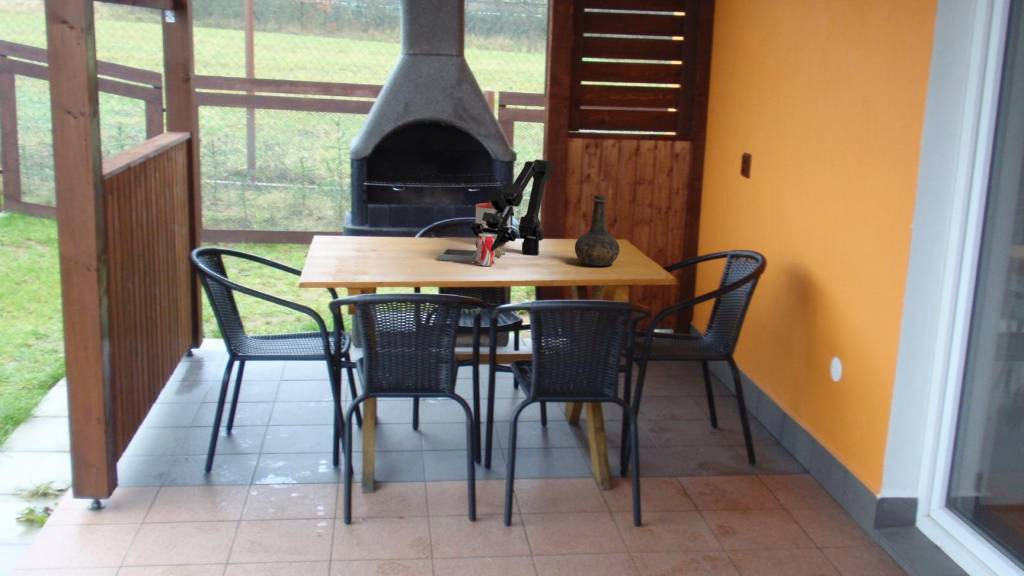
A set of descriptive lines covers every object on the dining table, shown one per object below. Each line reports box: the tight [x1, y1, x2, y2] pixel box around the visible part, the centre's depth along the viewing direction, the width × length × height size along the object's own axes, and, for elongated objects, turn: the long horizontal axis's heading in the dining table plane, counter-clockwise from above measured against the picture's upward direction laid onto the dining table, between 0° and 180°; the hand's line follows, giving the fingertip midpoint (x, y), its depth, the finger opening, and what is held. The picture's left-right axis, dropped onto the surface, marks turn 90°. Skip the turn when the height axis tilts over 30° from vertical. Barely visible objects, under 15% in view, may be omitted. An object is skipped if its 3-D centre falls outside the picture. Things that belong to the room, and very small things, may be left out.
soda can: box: [476, 233, 496, 267], centre depth 387 cm, size 7×7×12 cm
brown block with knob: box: [495, 247, 506, 259], centre depth 408 cm, size 8×9×3 cm
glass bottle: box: [574, 193, 620, 267], centre depth 395 cm, size 18×18×28 cm
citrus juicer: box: [475, 201, 513, 246], centre depth 431 cm, size 16×17×20 cm
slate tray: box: [439, 248, 477, 263], centre depth 398 cm, size 13×13×2 cm
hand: (484, 248), depth 386 cm, fingers closed on soda can, 7 cm apart
